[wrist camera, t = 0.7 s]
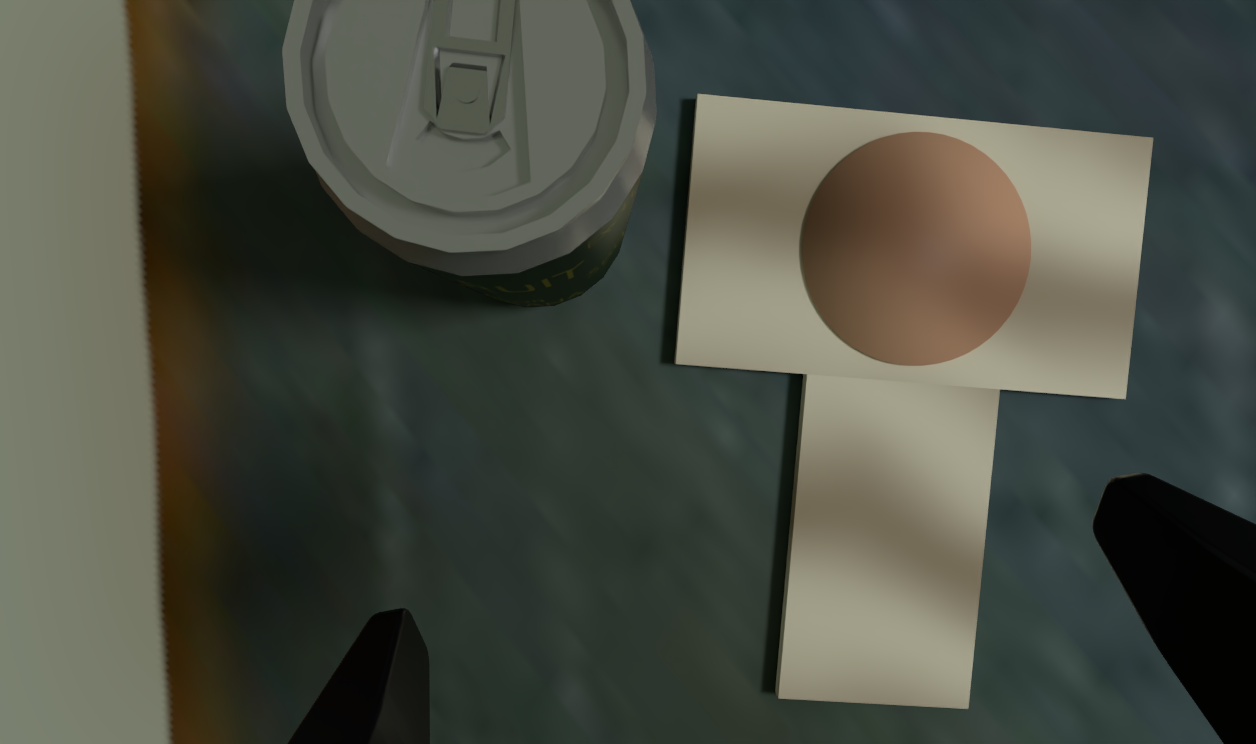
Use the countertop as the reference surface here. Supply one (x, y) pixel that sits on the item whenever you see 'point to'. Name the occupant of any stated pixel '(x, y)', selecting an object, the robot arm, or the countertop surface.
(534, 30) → the beer can
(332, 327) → the countertop surface
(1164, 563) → the robot arm
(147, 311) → the countertop surface
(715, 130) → the t plate
